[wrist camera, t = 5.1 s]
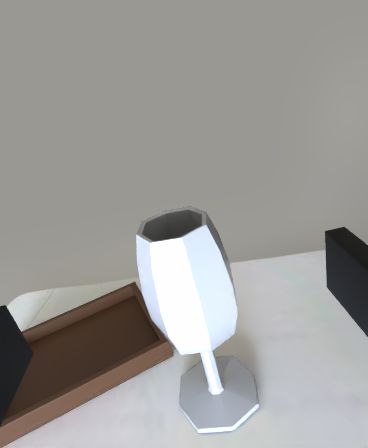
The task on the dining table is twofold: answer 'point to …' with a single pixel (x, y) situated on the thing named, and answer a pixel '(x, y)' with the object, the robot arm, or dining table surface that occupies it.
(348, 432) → the dining table surface
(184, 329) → the wineglass
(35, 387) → the serving tray
